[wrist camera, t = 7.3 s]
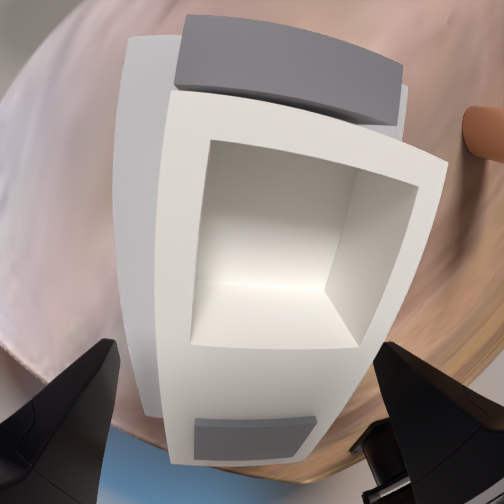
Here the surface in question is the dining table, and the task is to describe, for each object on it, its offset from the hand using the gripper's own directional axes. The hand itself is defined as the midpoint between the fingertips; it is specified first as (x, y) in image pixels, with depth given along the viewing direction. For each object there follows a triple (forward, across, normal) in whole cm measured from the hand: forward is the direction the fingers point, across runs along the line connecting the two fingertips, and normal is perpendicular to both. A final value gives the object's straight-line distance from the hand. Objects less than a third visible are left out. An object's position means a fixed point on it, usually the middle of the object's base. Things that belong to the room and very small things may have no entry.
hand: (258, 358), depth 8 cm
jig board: (+5, 0, 0) cm, 5 cm away
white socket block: (+4, 0, 0) cm, 4 cm away
